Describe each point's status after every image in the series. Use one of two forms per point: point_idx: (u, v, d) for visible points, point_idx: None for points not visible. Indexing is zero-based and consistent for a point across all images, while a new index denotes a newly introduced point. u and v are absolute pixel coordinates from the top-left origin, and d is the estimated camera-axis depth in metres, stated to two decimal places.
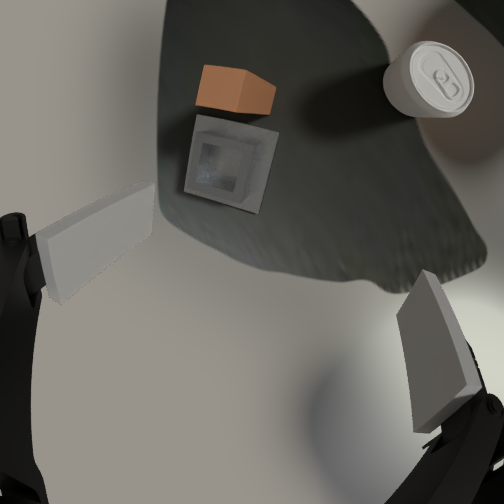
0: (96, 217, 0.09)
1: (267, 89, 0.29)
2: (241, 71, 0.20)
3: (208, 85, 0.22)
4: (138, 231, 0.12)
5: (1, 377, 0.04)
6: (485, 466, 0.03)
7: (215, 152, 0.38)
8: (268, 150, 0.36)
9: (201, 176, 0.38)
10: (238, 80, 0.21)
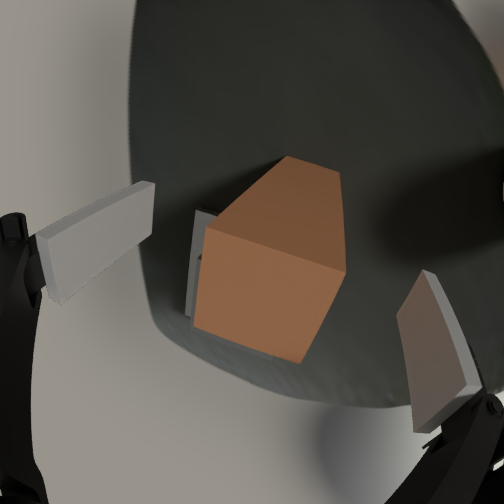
0: (96, 217, 0.09)
1: None
2: (329, 274, 0.07)
3: (222, 292, 0.09)
4: (138, 231, 0.12)
5: (1, 377, 0.04)
6: (485, 466, 0.03)
7: None
8: None
9: None
10: (316, 298, 0.08)
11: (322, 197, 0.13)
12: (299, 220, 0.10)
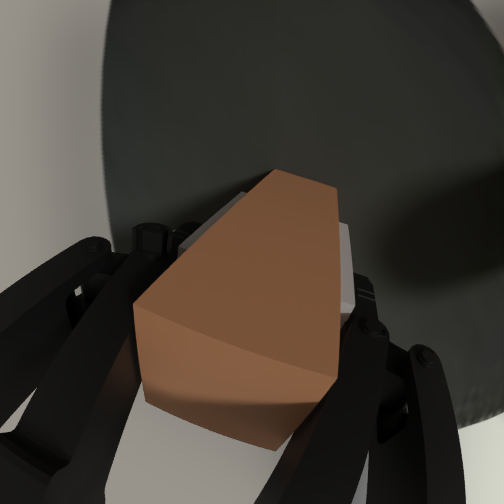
0: None
1: None
2: (313, 379, 0.05)
3: (170, 379, 0.06)
4: None
5: (102, 415, 0.04)
6: (376, 393, 0.05)
7: None
8: None
9: None
10: (294, 401, 0.05)
11: (314, 231, 0.10)
12: (276, 277, 0.07)
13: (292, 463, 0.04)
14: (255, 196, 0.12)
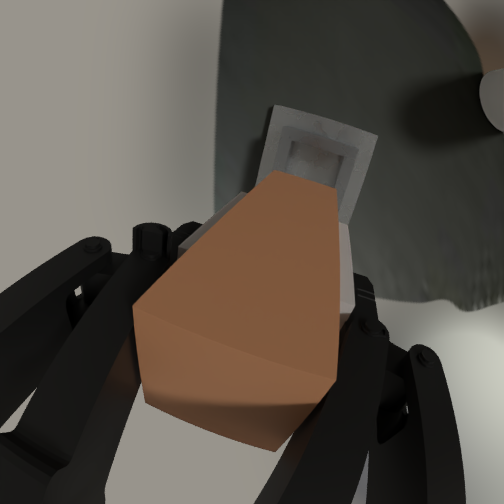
0: None
1: None
2: (312, 381, 0.05)
3: (169, 380, 0.06)
4: None
5: (101, 415, 0.04)
6: (377, 393, 0.05)
7: (298, 153, 0.30)
8: (364, 156, 0.28)
9: None
10: (293, 402, 0.05)
11: (314, 231, 0.10)
12: (275, 278, 0.07)
13: (292, 463, 0.04)
14: (255, 197, 0.12)
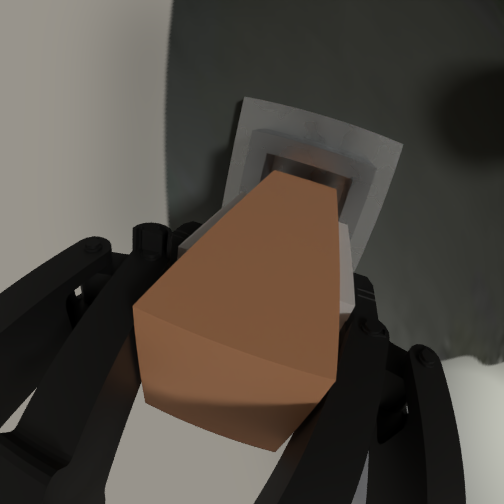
0: None
1: None
2: (311, 381, 0.05)
3: (169, 380, 0.06)
4: None
5: (101, 415, 0.04)
6: (377, 393, 0.05)
7: (280, 170, 0.20)
8: (382, 175, 0.18)
9: None
10: (293, 403, 0.05)
11: (314, 232, 0.10)
12: (275, 279, 0.07)
13: (292, 463, 0.04)
14: (255, 197, 0.12)
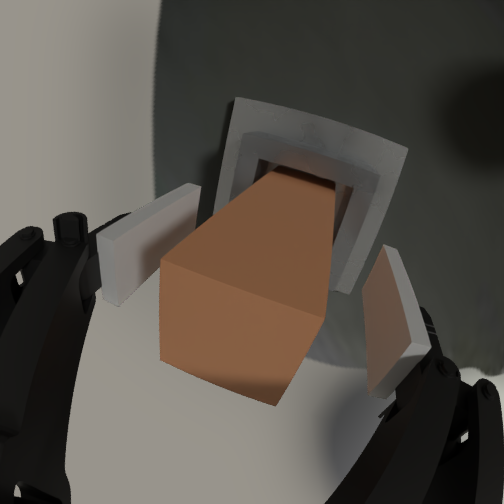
0: (155, 218, 0.10)
1: None
2: (305, 319, 0.06)
3: (185, 330, 0.07)
4: (185, 232, 0.13)
5: (43, 389, 0.04)
6: (445, 431, 0.04)
7: None
8: (385, 182, 0.17)
9: None
10: (290, 343, 0.06)
11: (311, 215, 0.11)
12: (276, 245, 0.08)
13: (363, 489, 0.03)
14: (260, 186, 0.13)
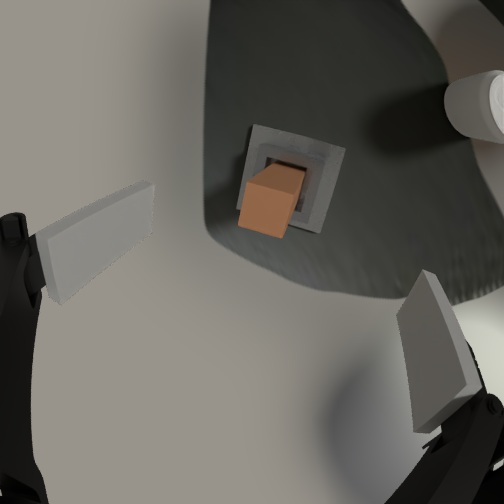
0: (96, 217, 0.09)
1: (301, 182, 0.31)
2: (288, 195, 0.22)
3: (251, 207, 0.24)
4: (138, 231, 0.12)
5: (1, 377, 0.04)
6: (485, 466, 0.03)
7: None
8: (334, 167, 0.33)
9: None
10: (285, 205, 0.23)
11: (291, 177, 0.28)
12: (279, 183, 0.25)
13: None
14: (269, 168, 0.29)
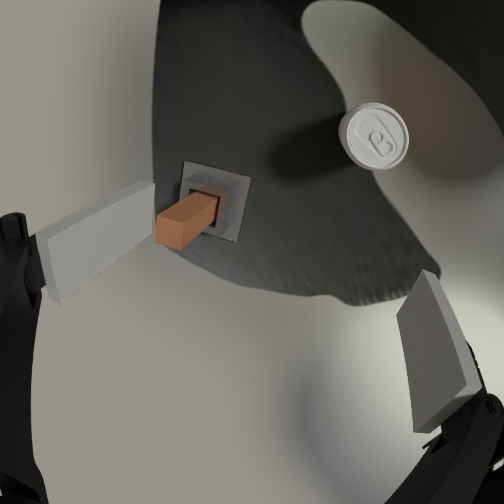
0: (96, 217, 0.09)
1: (211, 207, 0.43)
2: (180, 224, 0.35)
3: (161, 230, 0.36)
4: (138, 231, 0.12)
5: (1, 377, 0.04)
6: (485, 466, 0.03)
7: None
8: (243, 192, 0.45)
9: None
10: (179, 230, 0.35)
11: (197, 206, 0.40)
12: (181, 213, 0.37)
13: None
14: (186, 198, 0.42)
